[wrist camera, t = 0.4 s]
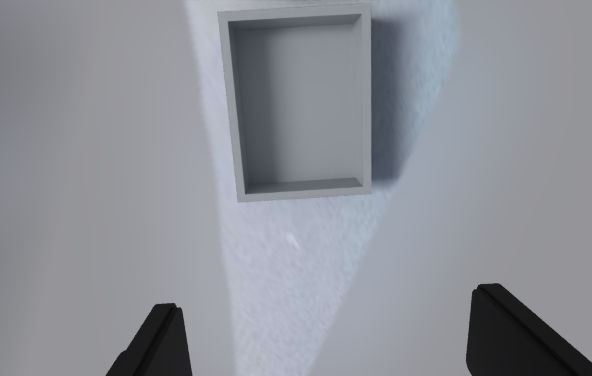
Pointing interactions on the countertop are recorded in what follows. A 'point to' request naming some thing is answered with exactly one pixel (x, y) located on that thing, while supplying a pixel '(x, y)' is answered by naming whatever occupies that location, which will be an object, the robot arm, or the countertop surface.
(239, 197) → the tote
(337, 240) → the countertop surface
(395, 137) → the countertop surface
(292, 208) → the countertop surface
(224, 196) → the countertop surface
